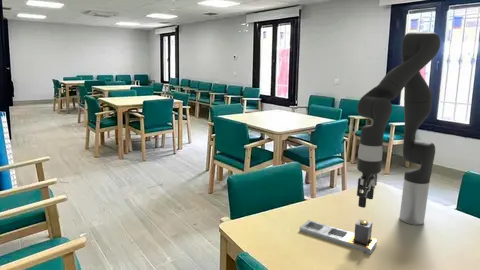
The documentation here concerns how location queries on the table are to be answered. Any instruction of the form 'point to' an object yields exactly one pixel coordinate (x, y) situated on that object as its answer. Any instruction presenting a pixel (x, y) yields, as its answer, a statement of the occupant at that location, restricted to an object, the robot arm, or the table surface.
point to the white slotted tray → (336, 235)
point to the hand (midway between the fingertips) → (365, 202)
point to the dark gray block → (363, 232)
